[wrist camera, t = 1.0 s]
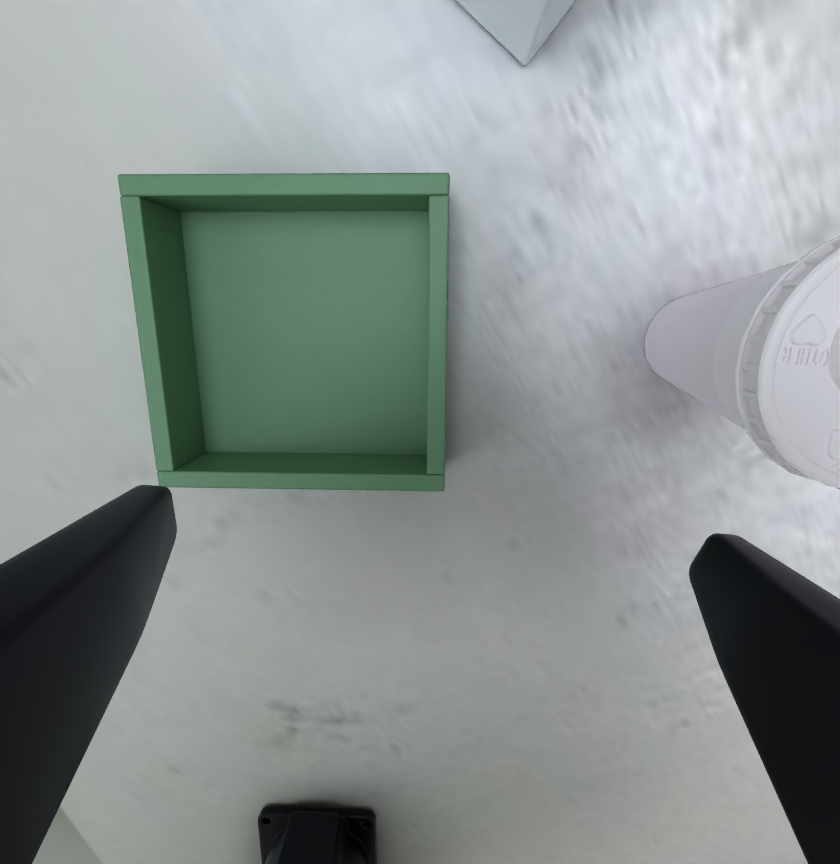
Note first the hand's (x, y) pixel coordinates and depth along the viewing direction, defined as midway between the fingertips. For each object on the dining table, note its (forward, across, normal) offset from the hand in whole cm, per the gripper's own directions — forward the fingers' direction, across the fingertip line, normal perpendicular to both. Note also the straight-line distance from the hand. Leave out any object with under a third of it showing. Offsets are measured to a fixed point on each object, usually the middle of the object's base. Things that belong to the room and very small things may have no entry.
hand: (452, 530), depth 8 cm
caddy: (+14, +4, +3) cm, 15 cm away
